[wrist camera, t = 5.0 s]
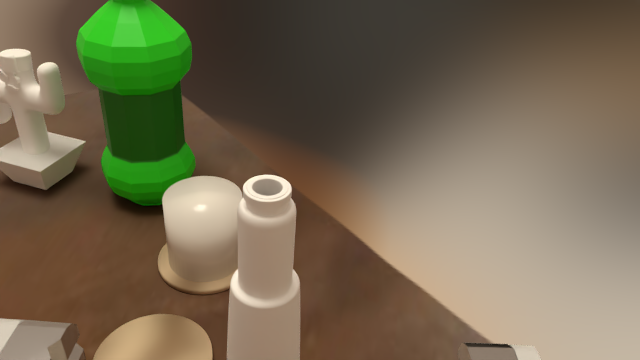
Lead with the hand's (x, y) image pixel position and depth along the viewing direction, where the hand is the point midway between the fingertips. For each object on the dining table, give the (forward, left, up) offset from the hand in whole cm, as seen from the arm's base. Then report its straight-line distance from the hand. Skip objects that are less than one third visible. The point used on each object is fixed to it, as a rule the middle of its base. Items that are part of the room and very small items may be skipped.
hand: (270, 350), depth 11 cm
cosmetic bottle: (-1, +13, -27) cm, 29 cm away
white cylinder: (-8, +32, -26) cm, 42 cm away
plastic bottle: (-16, +43, -27) cm, 53 cm away
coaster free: (-10, +20, -26) cm, 34 cm away
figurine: (-29, +45, -27) cm, 60 cm away
